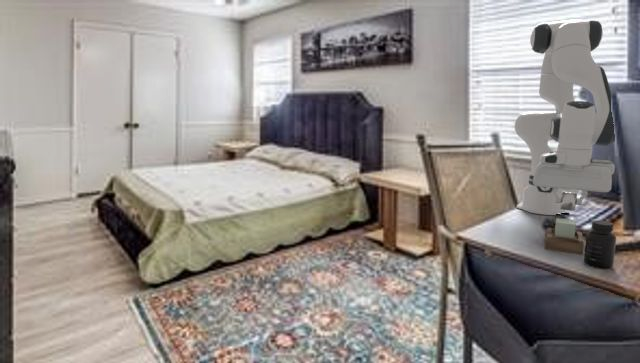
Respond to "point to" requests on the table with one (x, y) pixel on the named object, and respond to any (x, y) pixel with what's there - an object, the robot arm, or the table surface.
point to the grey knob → (568, 200)
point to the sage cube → (565, 228)
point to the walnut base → (564, 242)
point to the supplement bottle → (600, 245)
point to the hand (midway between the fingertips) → (568, 203)
